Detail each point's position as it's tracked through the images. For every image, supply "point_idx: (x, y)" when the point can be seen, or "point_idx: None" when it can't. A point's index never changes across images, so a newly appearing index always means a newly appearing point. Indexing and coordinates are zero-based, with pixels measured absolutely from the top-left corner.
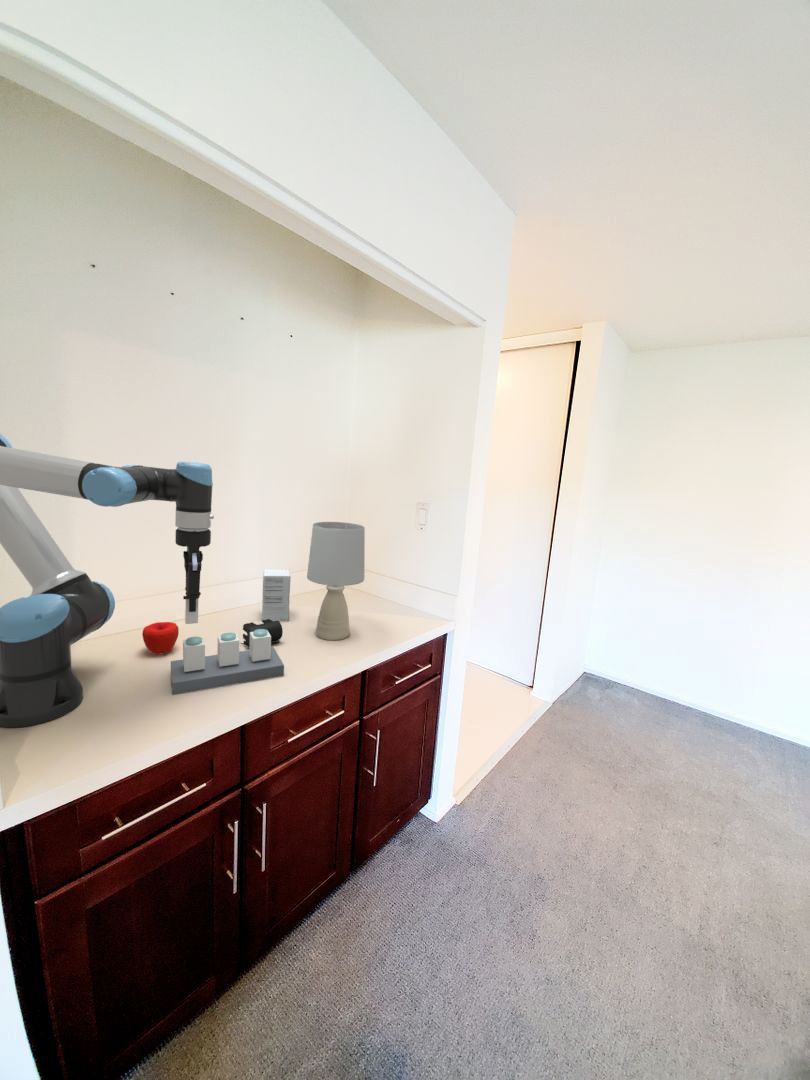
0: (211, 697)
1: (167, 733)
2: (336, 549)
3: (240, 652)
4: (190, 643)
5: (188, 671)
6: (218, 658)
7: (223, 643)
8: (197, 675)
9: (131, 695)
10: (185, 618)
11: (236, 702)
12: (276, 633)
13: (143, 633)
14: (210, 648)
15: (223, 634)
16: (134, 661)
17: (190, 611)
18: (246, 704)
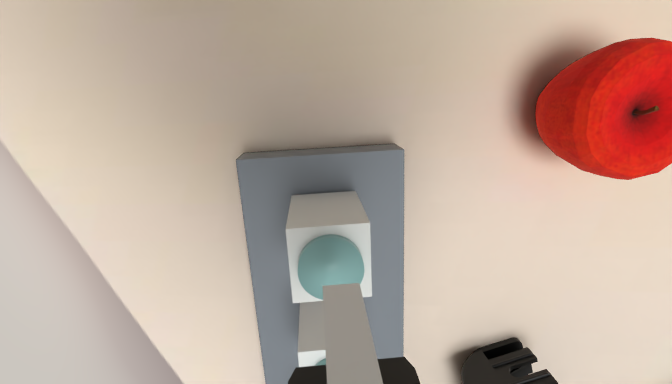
0: (204, 249)
1: (39, 147)
2: None
3: (395, 346)
4: (300, 256)
5: None
6: None
7: (298, 360)
8: (270, 230)
9: (273, 38)
10: (347, 300)
11: (164, 304)
12: None
13: (625, 43)
14: (517, 251)
15: None
16: (517, 26)
17: (295, 377)
18: (148, 324)
